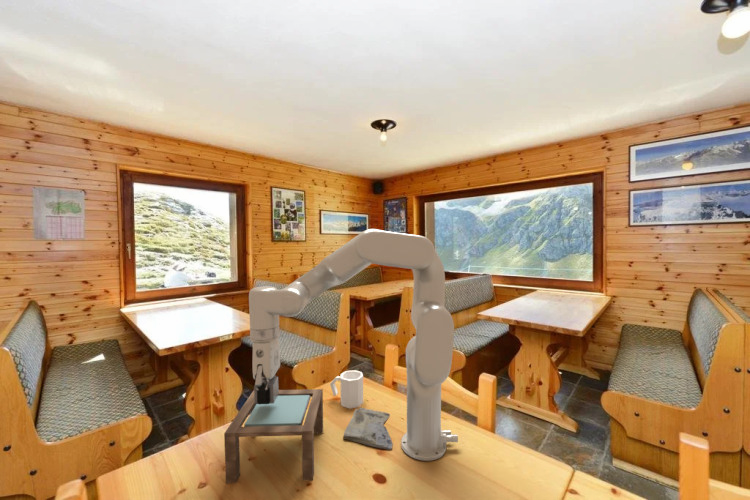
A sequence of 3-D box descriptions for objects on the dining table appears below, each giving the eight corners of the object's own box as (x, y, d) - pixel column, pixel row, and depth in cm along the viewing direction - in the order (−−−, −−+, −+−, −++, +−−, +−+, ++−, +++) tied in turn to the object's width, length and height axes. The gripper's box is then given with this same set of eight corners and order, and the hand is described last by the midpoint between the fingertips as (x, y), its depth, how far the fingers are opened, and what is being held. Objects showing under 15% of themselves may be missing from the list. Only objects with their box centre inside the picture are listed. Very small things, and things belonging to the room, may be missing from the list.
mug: (365, 397, 120) (365, 371, 119) (360, 409, 111) (360, 381, 111) (334, 394, 122) (334, 368, 122) (326, 406, 114) (326, 378, 113)
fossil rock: (354, 412, 111) (354, 405, 111) (398, 417, 108) (398, 410, 108) (339, 445, 94) (339, 437, 94) (391, 452, 91) (391, 444, 91)
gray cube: (278, 394, 92) (278, 376, 91) (273, 403, 87) (273, 385, 86) (260, 394, 92) (260, 377, 91) (254, 404, 87) (254, 385, 86)
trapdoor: (310, 398, 97) (310, 395, 97) (301, 426, 83) (301, 423, 83) (261, 399, 96) (261, 396, 96) (244, 428, 82) (244, 424, 82)
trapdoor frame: (323, 428, 101) (322, 389, 100) (312, 480, 80) (311, 431, 79) (254, 430, 100) (253, 390, 100) (225, 482, 79) (224, 433, 79)
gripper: (270, 343, 80) (272, 415, 81) (286, 323, 97) (288, 383, 98) (238, 344, 79) (241, 416, 81) (260, 323, 96) (262, 383, 98)
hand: (267, 397), depth 89 cm, fingers closed on gray cube, 5 cm apart
